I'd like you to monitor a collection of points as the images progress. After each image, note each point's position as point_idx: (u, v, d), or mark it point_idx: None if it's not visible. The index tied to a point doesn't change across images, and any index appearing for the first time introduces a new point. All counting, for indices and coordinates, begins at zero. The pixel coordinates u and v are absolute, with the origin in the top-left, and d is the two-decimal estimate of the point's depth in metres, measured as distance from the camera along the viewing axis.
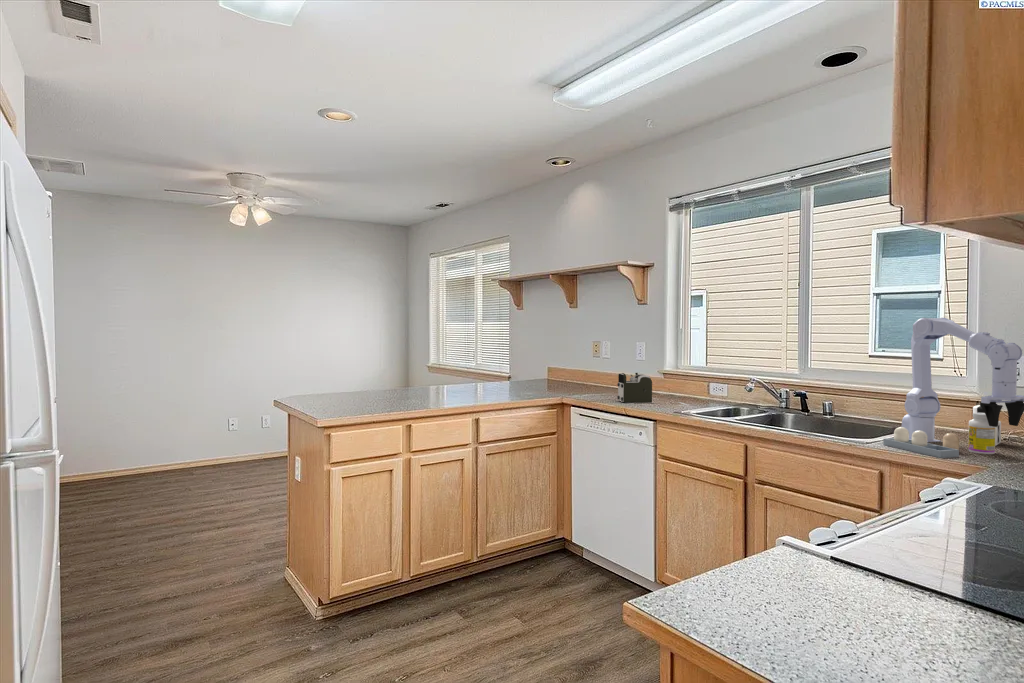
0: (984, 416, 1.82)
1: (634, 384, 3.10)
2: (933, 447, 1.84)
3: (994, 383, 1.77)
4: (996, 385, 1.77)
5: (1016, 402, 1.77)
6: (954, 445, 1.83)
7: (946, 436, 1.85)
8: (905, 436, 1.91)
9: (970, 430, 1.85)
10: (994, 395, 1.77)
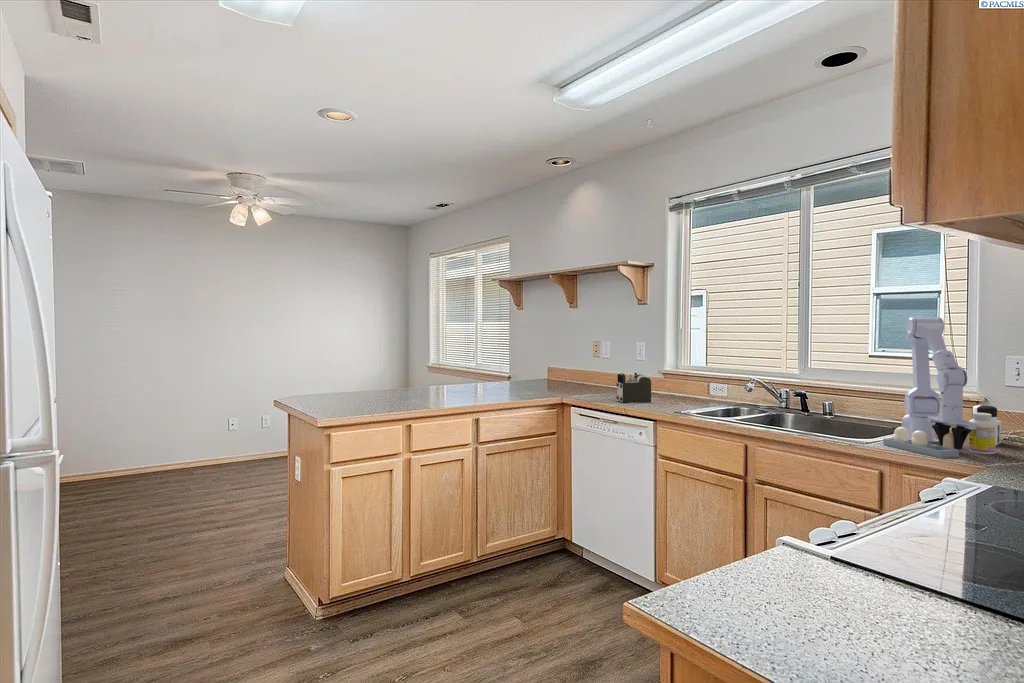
0: (984, 416, 1.82)
1: (633, 384, 3.10)
2: (933, 447, 1.84)
3: None
4: None
5: None
6: None
7: (946, 436, 1.85)
8: (905, 436, 1.91)
9: None
10: None
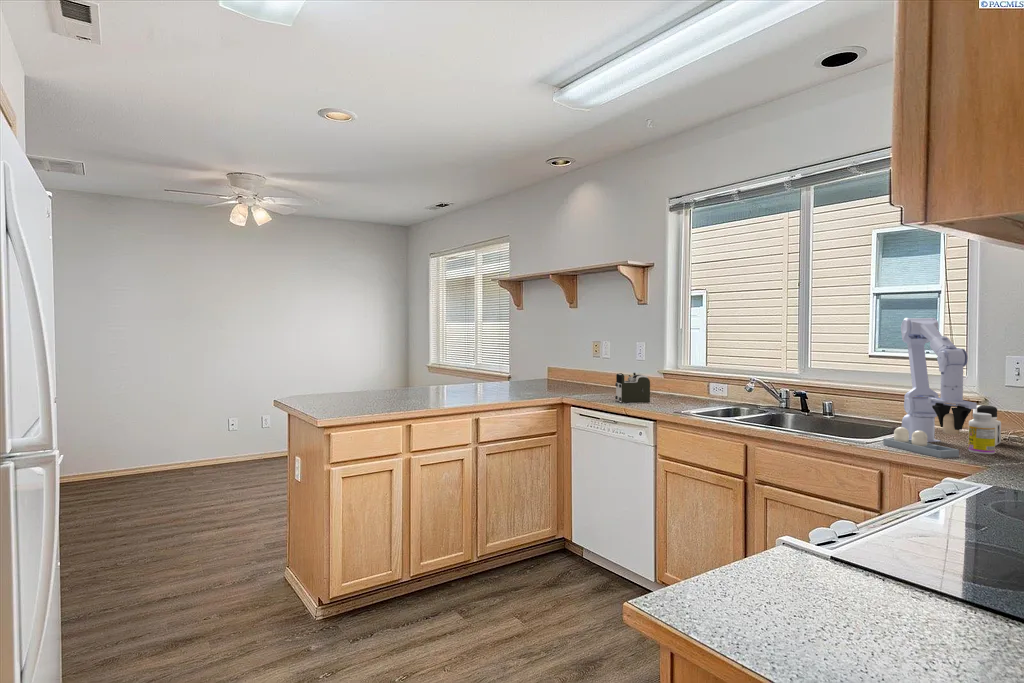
0: (984, 416, 1.82)
1: (632, 384, 3.09)
2: (933, 447, 1.84)
3: None
4: None
5: None
6: None
7: (946, 416, 1.84)
8: (905, 436, 1.91)
9: (970, 430, 1.85)
10: None
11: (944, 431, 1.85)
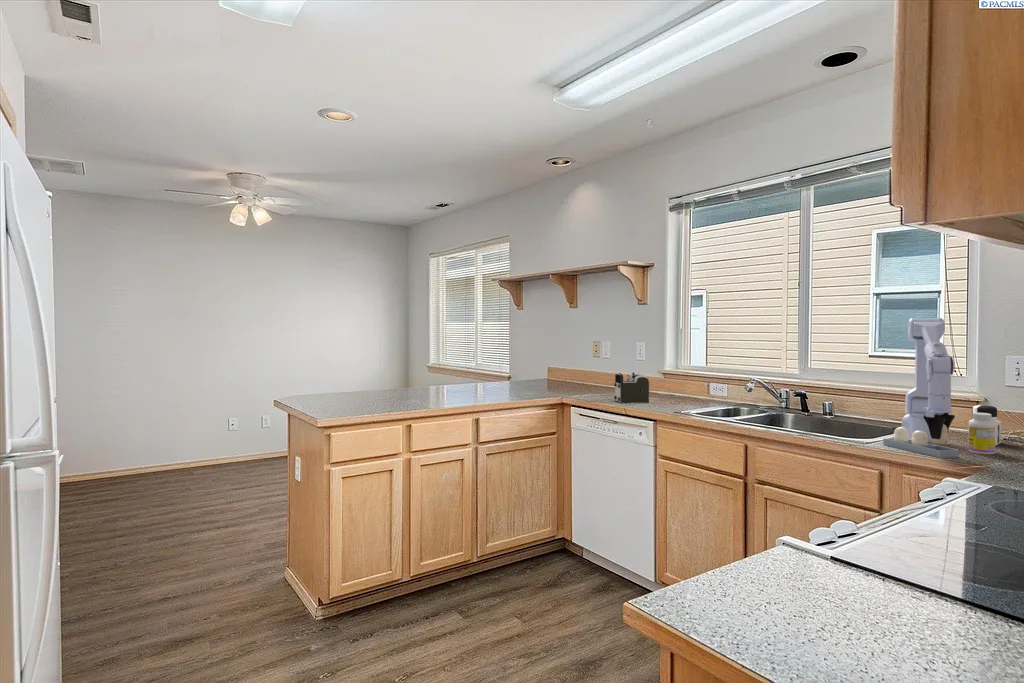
0: (984, 416, 1.82)
1: (631, 384, 3.09)
2: (933, 447, 1.84)
3: None
4: None
5: None
6: None
7: None
8: (905, 436, 1.91)
9: (970, 430, 1.85)
10: None
11: None
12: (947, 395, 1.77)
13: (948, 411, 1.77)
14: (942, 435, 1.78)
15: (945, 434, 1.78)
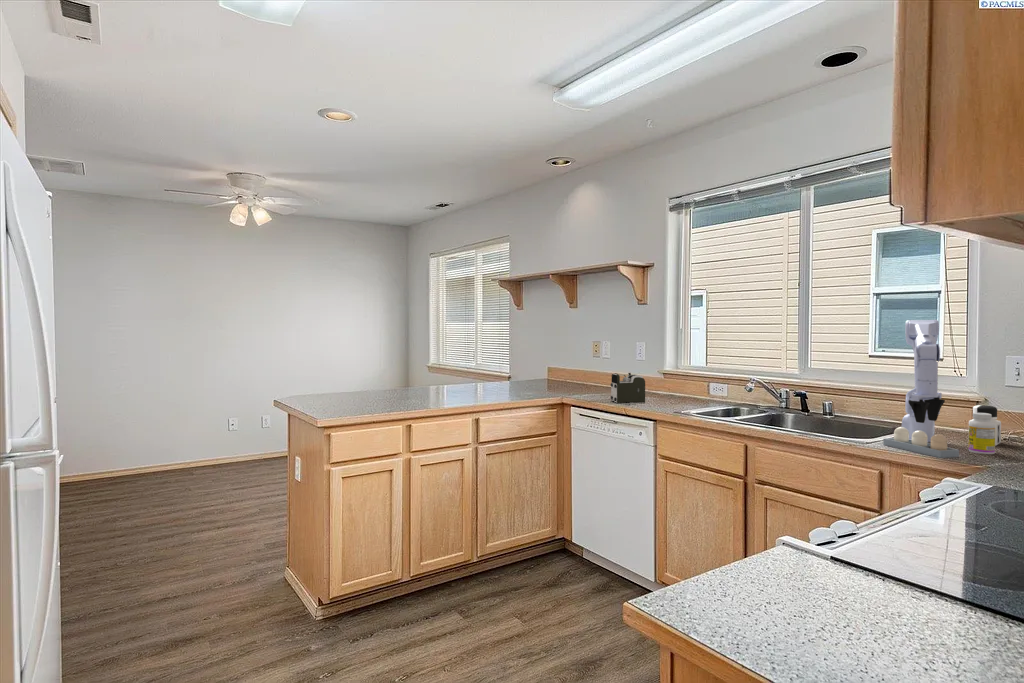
0: (984, 416, 1.82)
1: (627, 384, 3.09)
2: None
3: None
4: None
5: None
6: (933, 445, 1.80)
7: None
8: (905, 436, 1.91)
9: (970, 430, 1.85)
10: None
11: None
12: (933, 380, 1.87)
13: (934, 396, 1.87)
14: (942, 447, 1.78)
15: (945, 446, 1.79)
